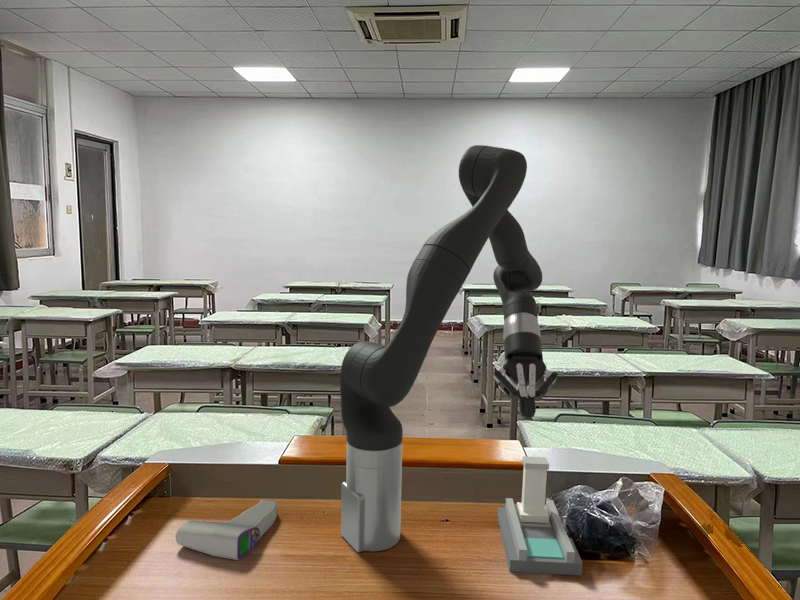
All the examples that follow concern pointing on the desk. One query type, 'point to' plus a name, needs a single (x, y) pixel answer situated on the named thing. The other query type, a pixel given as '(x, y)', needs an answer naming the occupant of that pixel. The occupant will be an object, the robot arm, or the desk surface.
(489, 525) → the desk surface
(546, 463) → the switch tab
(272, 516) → the infrared thermometer
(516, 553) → the switch panel
